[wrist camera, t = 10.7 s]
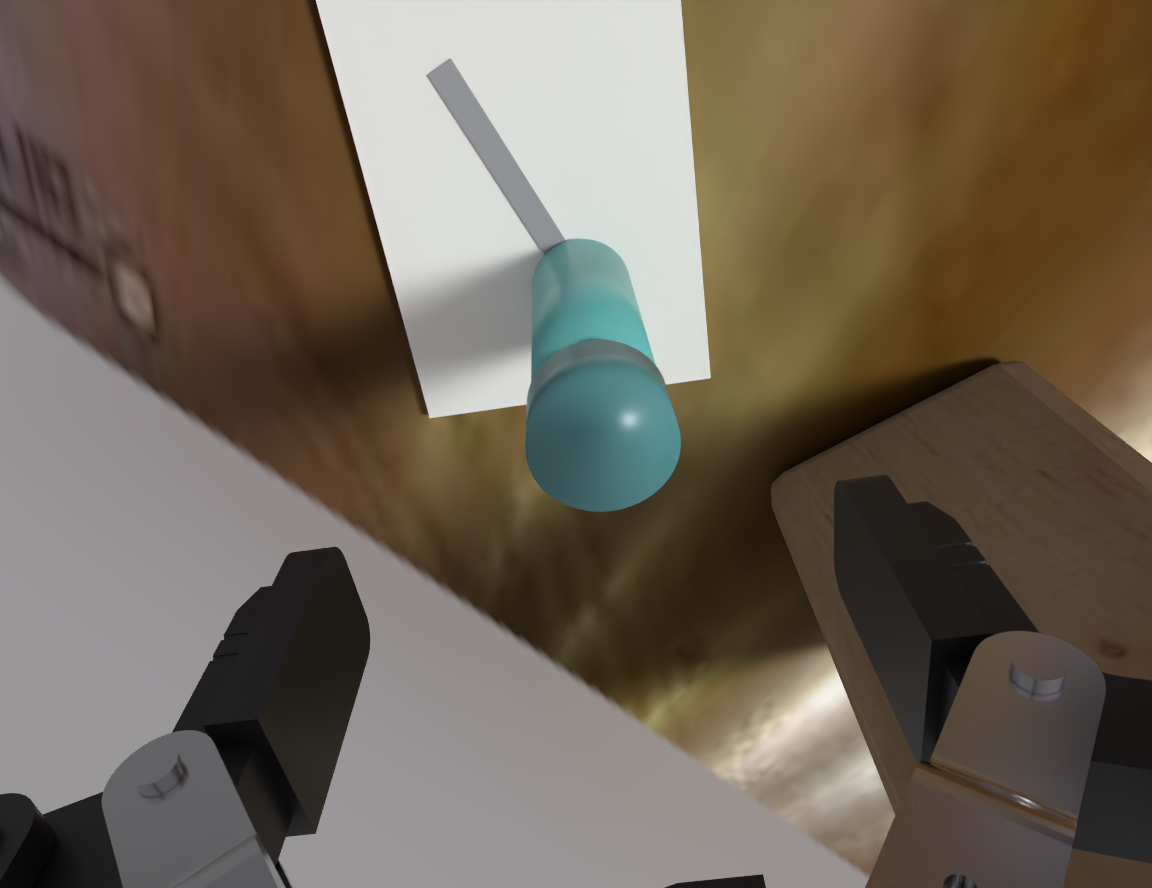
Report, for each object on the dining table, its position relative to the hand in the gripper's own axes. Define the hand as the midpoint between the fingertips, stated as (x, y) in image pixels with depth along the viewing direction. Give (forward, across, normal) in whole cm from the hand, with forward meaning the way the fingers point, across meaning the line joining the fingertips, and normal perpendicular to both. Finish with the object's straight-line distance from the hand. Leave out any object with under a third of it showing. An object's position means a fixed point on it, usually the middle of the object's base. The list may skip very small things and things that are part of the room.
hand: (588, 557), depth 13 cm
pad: (+15, +1, -3) cm, 16 cm away
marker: (+15, 0, 0) cm, 15 cm away
